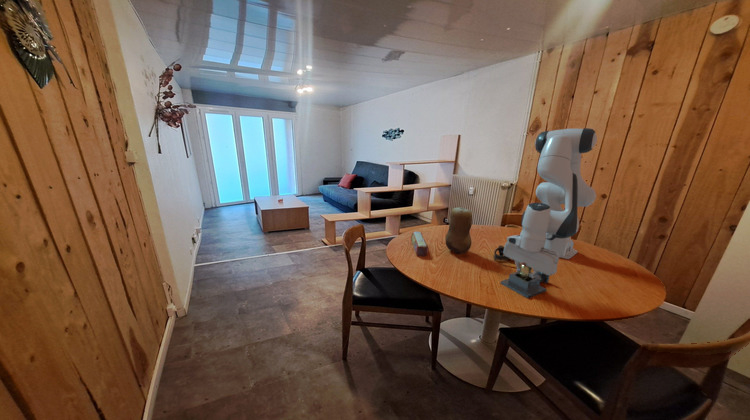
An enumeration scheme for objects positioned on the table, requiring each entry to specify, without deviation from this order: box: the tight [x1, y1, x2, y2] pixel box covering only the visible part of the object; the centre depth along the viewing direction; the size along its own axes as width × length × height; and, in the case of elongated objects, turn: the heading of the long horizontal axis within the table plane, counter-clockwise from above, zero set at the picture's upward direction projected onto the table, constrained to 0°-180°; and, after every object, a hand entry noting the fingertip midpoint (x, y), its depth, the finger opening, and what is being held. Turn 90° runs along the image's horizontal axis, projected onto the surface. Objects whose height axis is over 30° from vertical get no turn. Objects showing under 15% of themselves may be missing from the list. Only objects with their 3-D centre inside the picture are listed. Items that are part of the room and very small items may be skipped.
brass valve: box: [519, 262, 533, 281], centre depth 101 cm, size 5×4×8 cm
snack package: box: [410, 231, 429, 257], centre depth 139 cm, size 21×7×7 cm, turn 179°
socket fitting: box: [500, 271, 550, 299], centre depth 104 cm, size 19×12×5 cm, turn 116°
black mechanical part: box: [493, 245, 515, 263], centre depth 128 cm, size 12×10×8 cm
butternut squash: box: [445, 207, 473, 255], centre depth 133 cm, size 14×13×25 cm
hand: (525, 274), depth 102 cm, fingers closed on brass valve, 4 cm apart
